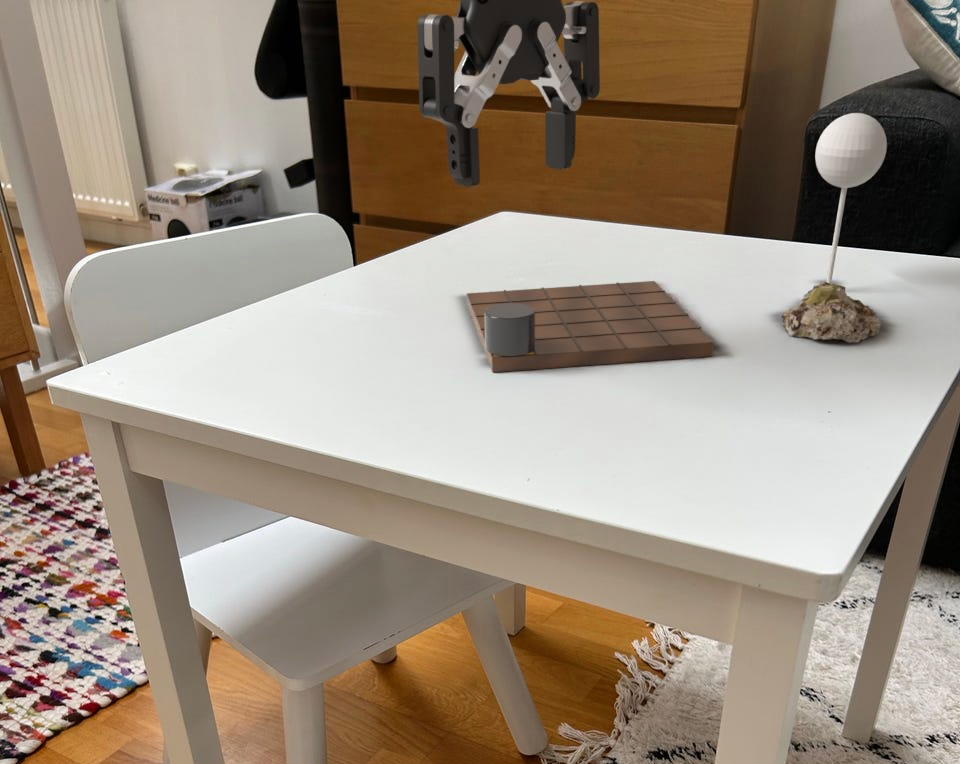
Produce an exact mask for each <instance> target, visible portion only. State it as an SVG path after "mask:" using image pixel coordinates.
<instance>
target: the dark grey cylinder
mask: <svg viewBox="0 0 960 764" xmlns="http://www.w3.org/2000/svg"><path fill="white" fill-rule="evenodd" d="M484 318H485V349H486V351H487V352H489V353H491V354H494V355H499V356H519V355H524V354H527V353H530V352H532V351H533V350H534V349H535V309H534V308H533V307H531V306H529V305H525V304H518V303H505V304H498V305H494V306H491V307H488V308H487V309H486V310H485V312H484Z"/></svg>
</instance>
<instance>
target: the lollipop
mask: <svg viewBox="0 0 960 764" xmlns="http://www.w3.org/2000/svg"><path fill="white" fill-rule="evenodd" d="M887 148H888V141H887V136H886V132H885V130H884V128H883V126H882V125H881V123H880V122H879V121H878V120H877V119H876V118H874V117H873V116H871V115H868V114H865V113H862V112H851V113H848V114H844V115H842V116H840V117H837V118H836V119H834V120H833V121H832V122H830V123H829V125H827V126H826V128H825V129H823V131H822V133H821V134H820V136H819V139H818V141H817V143H816V147H815V155H814V156H815V157H814V158H815V159H814V160H815V166H816V169H817V171H818V173H819V175H820V176H821V177H822V179H824V180H825V181H826V182H827V183H828V184H830V185H831V186H833V187H837V188H840V189H841V190H840V195H839V202H838V208H837V213H836V214H837V215H836V220H835V227H834V233H833V239H832V246H831V251H830V256H829V262H828V267H827V268H828V270H827V275H826V281H825V282H827V283H830V284H832V282H833V281H832V279H833V274H834V270H835V269H834V268H835V262H836V256H837V251H838V244H839V238H840V232H841V226H842V223H843V222H842V220H843V215H844V210H845V209H844V208H845V205H846V203H845V202H846V197H847V193H848V192H847V191H848V188H855V187H858V186H859V185H860V186H861V185H863V184H865V183H866V182H867V181H869V180H870V179H872V177H874V176H875V174H876V173H877V172H878V171H879V169H880V168H881V166H882V165H883V163H884V161H885V158H886V153H887Z"/></svg>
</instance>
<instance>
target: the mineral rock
mask: <svg viewBox="0 0 960 764" xmlns="http://www.w3.org/2000/svg"><path fill="white" fill-rule="evenodd" d="M781 318H782V323H783V325H782V326H783V327H784V329H785V332H787V333H788V334H787V335H788V336H790V337H798V338H804V337H805V338H809V339H813V340H821V341H828V340H843V341H845V342H846V343H848V344H849V343H860V341H863V340H865V339H868V338H869V337H874V336H876V335H877V334H878V333H880V328H881V327H882V326H884V321H883V320H881V319H880V318H878V316H877V313H876V312H875V311H874V309H873V308H870V306H869V305H865V304H864V303H863V302H862V301H861V300H860V299H853V298H852V297H851V296H850V295H848V294H847V293H846V286H844V285H841V284H836V283H831V284H830V283H827V282H826V281H824V282H820V283H819V284H817V285H813V287H812V289H809V290H808V291H807V293H805V294H804V295H803V297H802V299H801V301H800V302H799V303H798V304H797V305H796V306H795V307H794V308H789V309H788V310H787V311H785V312H783V313H782V314H781Z"/></svg>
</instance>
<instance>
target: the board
mask: <svg viewBox="0 0 960 764" xmlns="http://www.w3.org/2000/svg"><path fill="white" fill-rule="evenodd" d="M505 303H518V304H525V305H529V306H531V307H533V308H534V309H535V349H534V350H533V351H532V352H530V353H527V354H524V355H519V356H499V355H494V354H491V353H489V352H487V351H486V349H485V318H484V312H485V310H486V309H487V308H488V307H491V306H494V305H498V304H505ZM466 306H467V309H468V311H469V314H470V317H471V319H472V322H473V325H474V327H475V330H476V332H477V333H476V334H477V336H478V338H479V341H480V343H481V346H482V349H483V351H484V354H485V355H486V357H485V358H486V359H487V361H488V364H489V367H490V370H491V372H492V373H502V372H504V373H505V372H517V371H530V370H531V371H532V370H545V369H557V368H559V369H560V368H571V367H586V366H587V367H588V366H598V365H599V366H600V365H612V364H626V363H628V364H629V363H640V362H652V361H653V362H654V361H667V360H681V359H682V360H683V359H696V358H709V357H713V351H714V341H713V340H712V338H710V336H708V335H707V334H706V333H705V332H704V331H703V330H702V329H701V328H702V327H701V326H699V325H698V324H697V323H695V321H694V320H693V319H692V318H691V317H690V316H689V314H688V313H687V312H685V311H684V310H683V309H682V308H681V307H680V306H679V304H677V301H674V300H673V299H672V298H671V296H670V295H668V293H666V290H664V289H663V288H662V287H661V286H660V285H659V284H658V283H657V282H656V281H655V280H647V281H633V282H616V283H603V284H587V285H582V284H579V285H573V286H571V285H570V286H559V287H541V288H526V289H512V290H511V289H510V290H507V289H503V290H497V291H496V290H495V291H482V292H469V293H466Z"/></svg>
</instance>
